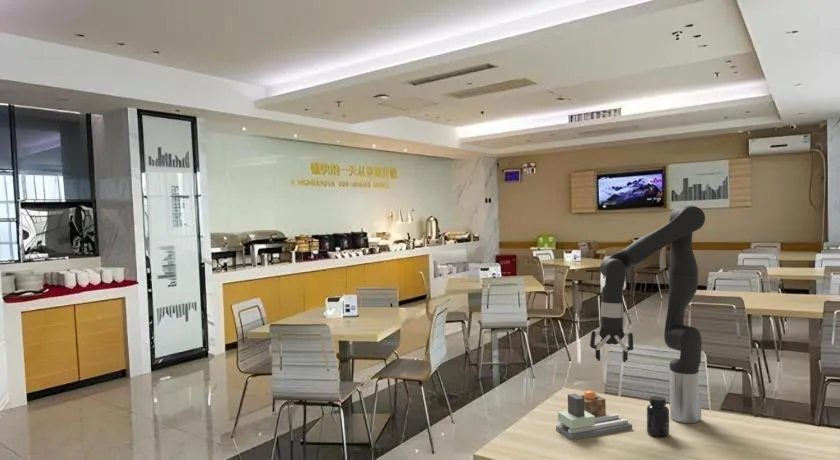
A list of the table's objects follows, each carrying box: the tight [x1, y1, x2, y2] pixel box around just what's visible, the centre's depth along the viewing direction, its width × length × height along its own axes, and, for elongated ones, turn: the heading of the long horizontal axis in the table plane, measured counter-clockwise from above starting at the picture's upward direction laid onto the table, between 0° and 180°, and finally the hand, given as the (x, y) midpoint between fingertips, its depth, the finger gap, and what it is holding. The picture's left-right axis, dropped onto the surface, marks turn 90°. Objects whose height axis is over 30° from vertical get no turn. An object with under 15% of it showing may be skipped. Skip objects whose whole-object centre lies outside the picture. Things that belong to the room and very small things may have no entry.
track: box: [555, 413, 633, 441], centre depth 186 cm, size 24×9×3 cm, turn 109°
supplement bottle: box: [646, 395, 670, 438], centre depth 181 cm, size 7×7×12 cm
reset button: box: [583, 390, 596, 400], centre depth 196 cm, size 4×4×4 cm
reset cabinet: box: [578, 393, 607, 417], centre depth 196 cm, size 9×7×8 cm
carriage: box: [557, 393, 595, 429], centre depth 184 cm, size 9×8×9 cm
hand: (611, 361), depth 193 cm, fingers open, 8 cm apart
